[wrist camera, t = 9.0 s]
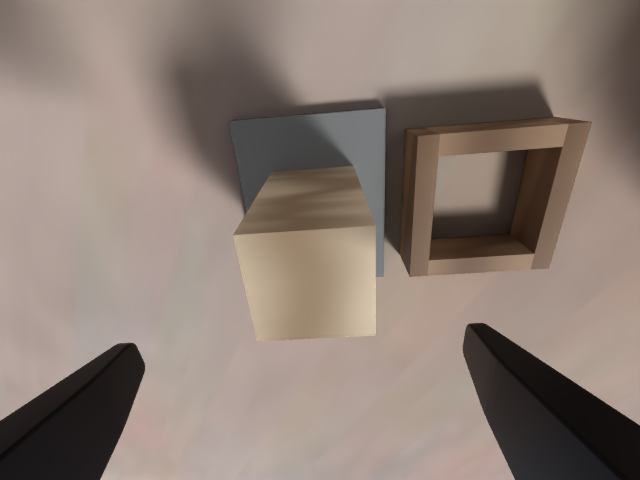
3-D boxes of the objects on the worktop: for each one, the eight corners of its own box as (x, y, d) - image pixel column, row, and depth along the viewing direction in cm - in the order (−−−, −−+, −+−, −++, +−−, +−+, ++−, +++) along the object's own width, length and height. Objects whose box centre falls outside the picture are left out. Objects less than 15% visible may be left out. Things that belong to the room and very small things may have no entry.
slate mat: (383, 107, 16) (385, 108, 15) (381, 271, 20) (383, 276, 20) (231, 120, 16) (228, 121, 16) (262, 278, 21) (260, 283, 20)
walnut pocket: (554, 116, 16) (591, 121, 14) (523, 247, 20) (548, 268, 17) (405, 129, 16) (418, 136, 14) (400, 255, 20) (409, 276, 18)
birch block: (353, 165, 17) (376, 225, 10) (355, 240, 19) (375, 335, 12) (271, 171, 17) (232, 235, 10) (282, 244, 19) (257, 341, 12)
